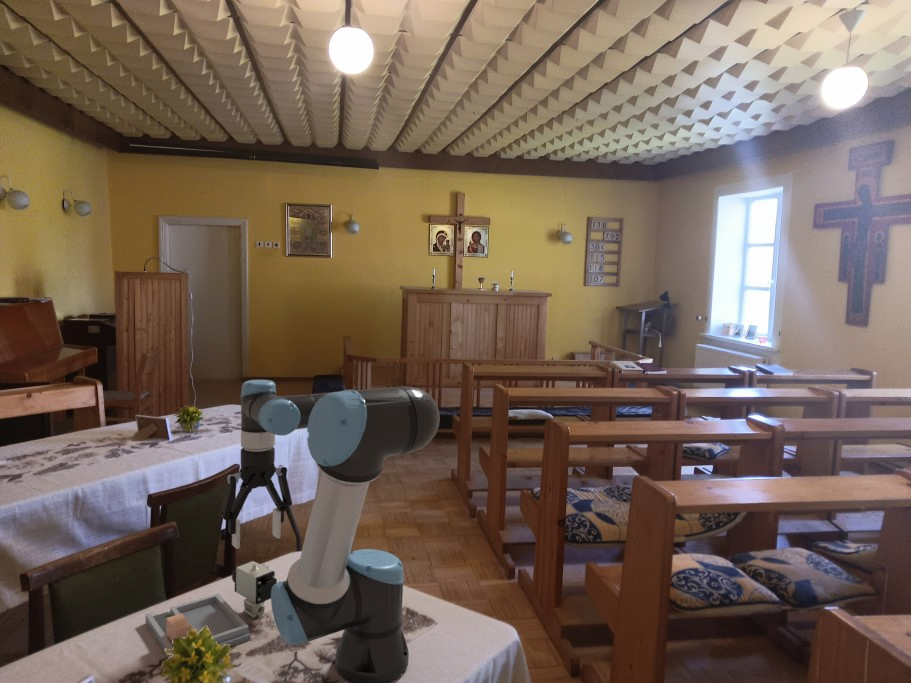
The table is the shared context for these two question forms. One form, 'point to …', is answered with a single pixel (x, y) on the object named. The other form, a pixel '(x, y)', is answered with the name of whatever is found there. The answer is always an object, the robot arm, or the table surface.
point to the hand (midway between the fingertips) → (256, 541)
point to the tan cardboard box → (176, 627)
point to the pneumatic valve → (254, 586)
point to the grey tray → (203, 621)
